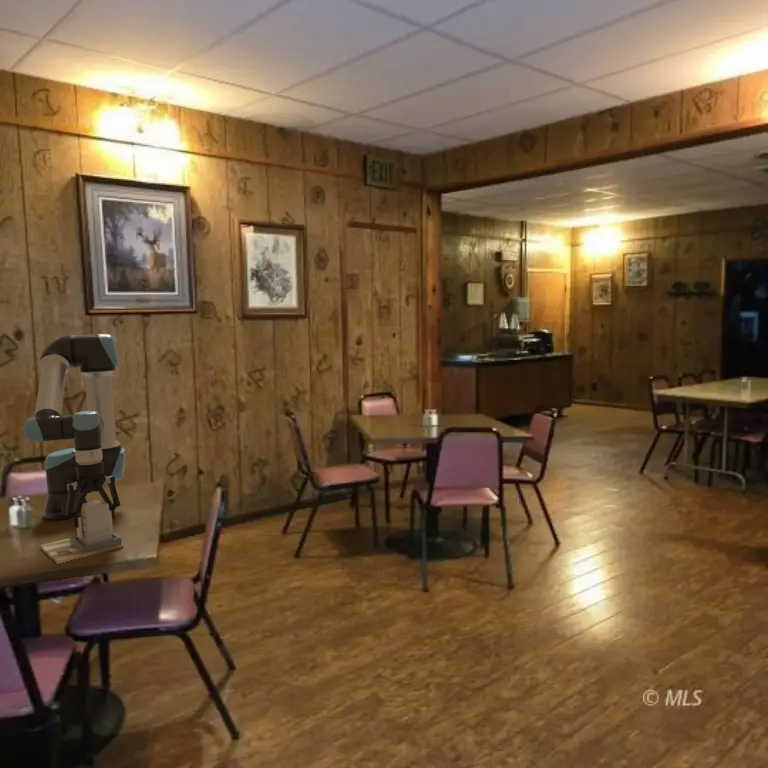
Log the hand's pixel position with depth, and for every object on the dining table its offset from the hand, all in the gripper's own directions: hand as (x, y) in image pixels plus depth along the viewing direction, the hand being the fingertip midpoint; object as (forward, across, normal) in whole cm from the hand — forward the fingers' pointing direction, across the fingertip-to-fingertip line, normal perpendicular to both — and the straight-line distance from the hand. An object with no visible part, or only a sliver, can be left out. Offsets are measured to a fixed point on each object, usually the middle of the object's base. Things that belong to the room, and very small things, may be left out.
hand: (95, 533), depth 201 cm
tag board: (+4, -4, +2) cm, 6 cm away
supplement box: (+3, 0, 0) cm, 3 cm away
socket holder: (+4, 0, 0) cm, 4 cm away
